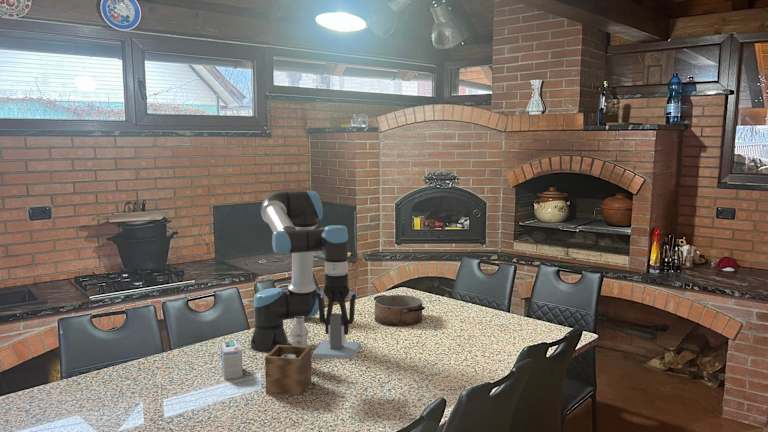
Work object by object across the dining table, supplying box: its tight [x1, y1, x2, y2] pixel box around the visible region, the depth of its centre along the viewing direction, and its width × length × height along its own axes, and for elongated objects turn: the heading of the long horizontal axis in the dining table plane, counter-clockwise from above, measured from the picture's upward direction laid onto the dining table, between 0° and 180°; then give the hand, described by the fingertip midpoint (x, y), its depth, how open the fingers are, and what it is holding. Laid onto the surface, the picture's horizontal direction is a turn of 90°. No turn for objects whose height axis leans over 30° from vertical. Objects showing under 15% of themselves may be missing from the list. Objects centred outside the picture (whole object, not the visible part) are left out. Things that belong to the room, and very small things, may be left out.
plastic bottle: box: [290, 316, 309, 347], centre depth 208 cm, size 6×7×20 cm
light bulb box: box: [220, 340, 244, 380], centre depth 204 cm, size 11×7×11 cm, turn 21°
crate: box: [264, 345, 312, 396], centre depth 190 cm, size 12×12×14 cm
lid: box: [311, 312, 361, 360], centre depth 185 cm, size 13×13×13 cm
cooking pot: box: [373, 294, 426, 328], centre depth 266 cm, size 30×22×11 cm
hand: (337, 343), depth 185 cm, fingers closed on lid, 4 cm apart
